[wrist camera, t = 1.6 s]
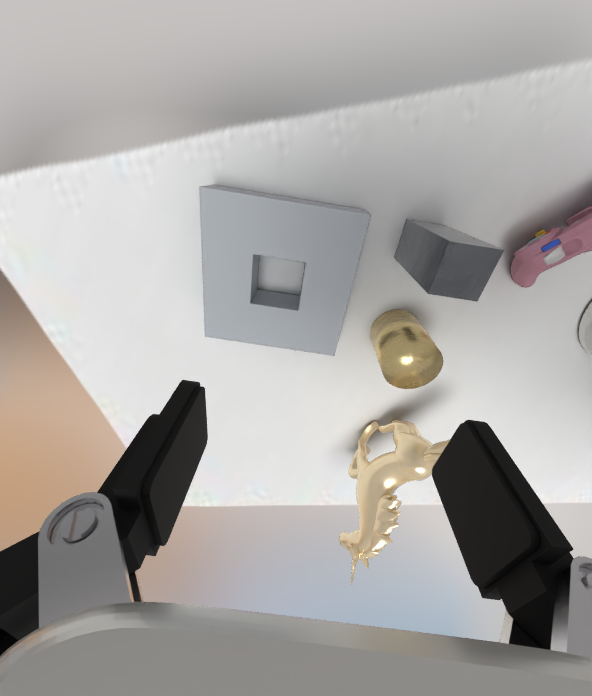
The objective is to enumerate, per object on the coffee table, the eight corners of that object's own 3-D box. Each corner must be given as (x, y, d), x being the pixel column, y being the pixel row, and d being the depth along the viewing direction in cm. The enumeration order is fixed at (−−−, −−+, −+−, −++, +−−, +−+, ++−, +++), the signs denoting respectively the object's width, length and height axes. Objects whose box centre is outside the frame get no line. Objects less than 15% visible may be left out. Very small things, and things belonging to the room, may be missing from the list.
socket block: (363, 209, 26) (370, 215, 23) (332, 337, 34) (334, 355, 30) (214, 184, 26) (199, 186, 22) (216, 319, 33) (204, 336, 30)
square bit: (443, 225, 27) (504, 250, 18) (428, 262, 29) (477, 301, 20) (406, 219, 26) (450, 241, 18) (394, 257, 28) (428, 293, 20)
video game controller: (601, 186, 26) (670, 149, 19) (630, 227, 25) (710, 204, 19) (490, 255, 29) (516, 243, 23) (515, 291, 29) (549, 290, 23)
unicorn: (430, 375, 36) (508, 513, 22) (449, 391, 37) (535, 531, 23) (324, 449, 45) (329, 582, 30) (342, 460, 46) (355, 593, 31)
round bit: (427, 313, 31) (453, 346, 26) (409, 354, 34) (429, 392, 29) (378, 306, 31) (393, 337, 25) (364, 347, 34) (375, 384, 28)
